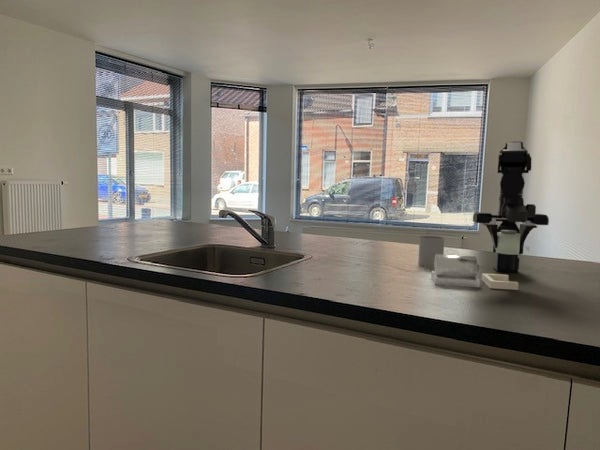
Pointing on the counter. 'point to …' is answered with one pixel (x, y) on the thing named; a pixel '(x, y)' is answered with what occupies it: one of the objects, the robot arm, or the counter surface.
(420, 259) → the cup
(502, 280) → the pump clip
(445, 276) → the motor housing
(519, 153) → the robot arm
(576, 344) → the counter surface
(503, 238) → the frosted cube with recess
